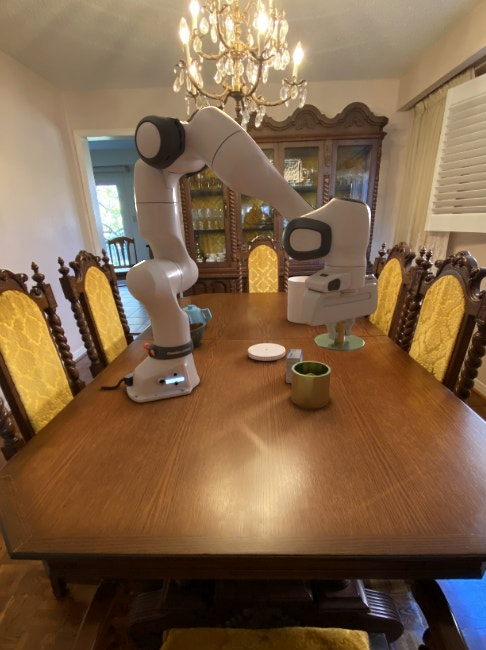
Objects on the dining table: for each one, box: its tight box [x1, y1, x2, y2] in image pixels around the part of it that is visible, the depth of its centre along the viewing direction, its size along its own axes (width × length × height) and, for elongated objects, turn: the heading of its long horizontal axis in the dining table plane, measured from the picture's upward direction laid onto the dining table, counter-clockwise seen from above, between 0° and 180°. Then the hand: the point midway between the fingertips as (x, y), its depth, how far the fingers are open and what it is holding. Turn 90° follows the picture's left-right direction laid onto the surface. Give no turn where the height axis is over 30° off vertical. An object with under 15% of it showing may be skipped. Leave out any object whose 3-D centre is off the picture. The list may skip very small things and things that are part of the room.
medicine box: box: [285, 348, 303, 384], centre depth 110 cm, size 8×4×9 cm, turn 168°
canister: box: [286, 275, 311, 324], centre depth 171 cm, size 16×16×20 cm
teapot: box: [181, 304, 213, 327], centre depth 164 cm, size 15×15×11 cm
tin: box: [290, 360, 332, 410], centre depth 96 cm, size 10×10×10 cm
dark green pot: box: [151, 323, 205, 349], centre depth 139 cm, size 13×20×10 cm, turn 99°
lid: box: [313, 320, 365, 352], centre depth 81 cm, size 11×11×6 cm
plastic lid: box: [247, 342, 286, 362], centre depth 130 cm, size 14×14×2 cm
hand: (339, 337), depth 81 cm, fingers closed on lid, 2 cm apart
